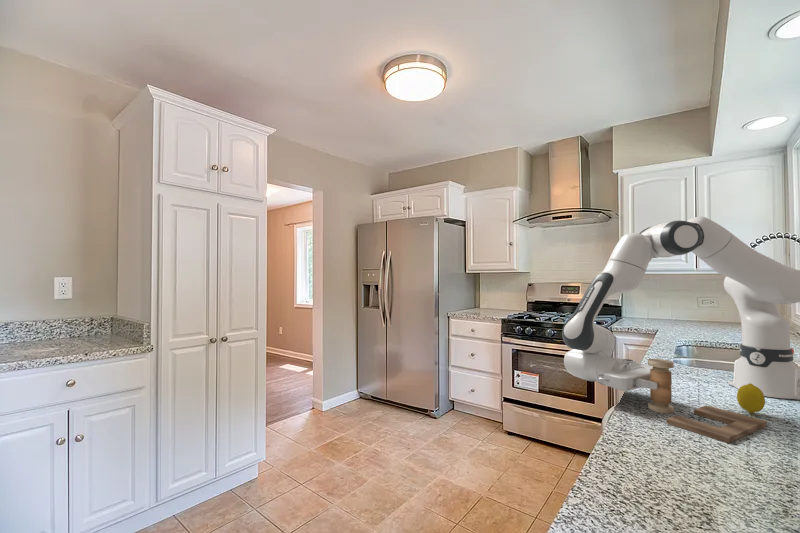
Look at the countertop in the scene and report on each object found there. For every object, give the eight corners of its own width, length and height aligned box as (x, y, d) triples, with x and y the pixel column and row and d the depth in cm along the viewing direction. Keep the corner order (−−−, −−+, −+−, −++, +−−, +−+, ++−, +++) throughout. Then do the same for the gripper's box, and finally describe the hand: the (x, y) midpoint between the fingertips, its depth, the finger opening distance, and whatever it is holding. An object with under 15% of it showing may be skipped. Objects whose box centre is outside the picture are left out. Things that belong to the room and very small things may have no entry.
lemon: (759, 419, 99) (759, 387, 99) (732, 412, 103) (732, 382, 104) (769, 415, 101) (768, 384, 101) (742, 408, 106) (742, 379, 106)
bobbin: (655, 404, 109) (655, 357, 109) (678, 411, 104) (678, 362, 104) (643, 408, 106) (643, 360, 106) (666, 415, 101) (666, 364, 101)
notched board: (706, 409, 105) (706, 405, 105) (766, 426, 94) (766, 421, 94) (666, 423, 95) (666, 418, 95) (728, 443, 85) (728, 437, 85)
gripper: (592, 366, 112) (642, 378, 99) (634, 358, 121) (683, 368, 109) (592, 388, 111) (642, 402, 99) (634, 378, 121) (683, 390, 109)
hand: (664, 384), depth 104 cm, fingers closed on bobbin, 5 cm apart
